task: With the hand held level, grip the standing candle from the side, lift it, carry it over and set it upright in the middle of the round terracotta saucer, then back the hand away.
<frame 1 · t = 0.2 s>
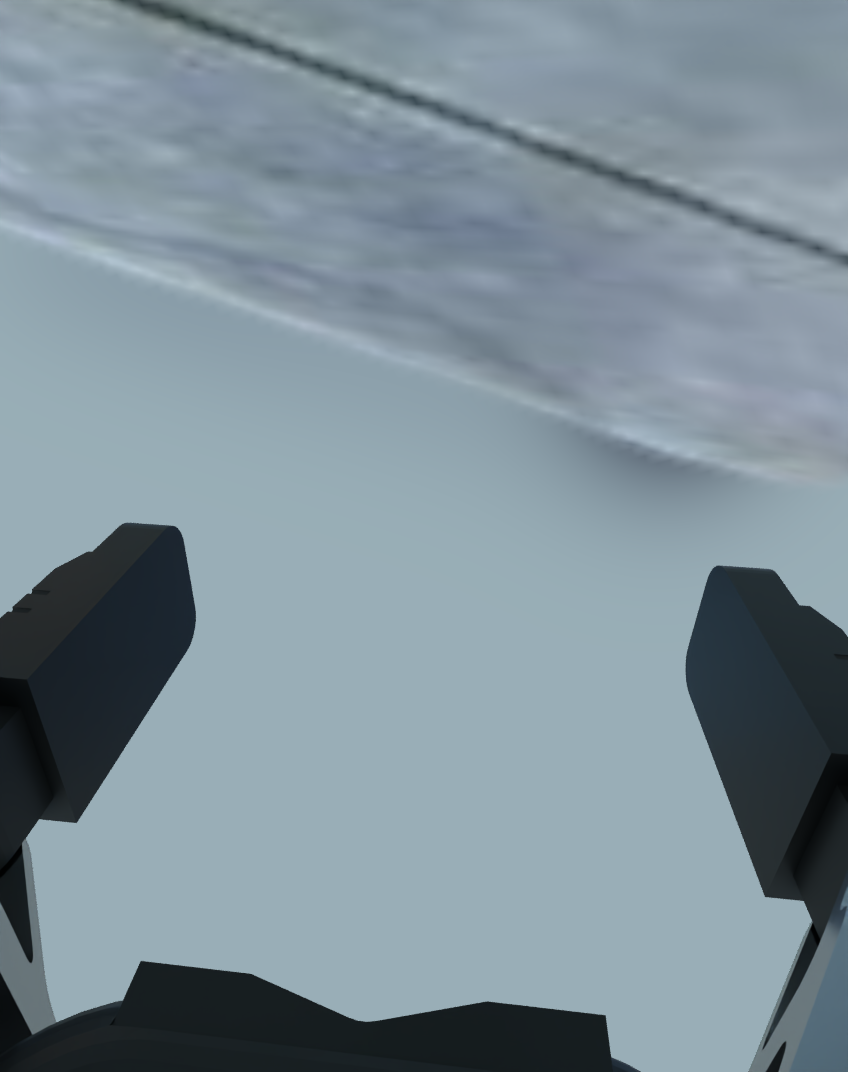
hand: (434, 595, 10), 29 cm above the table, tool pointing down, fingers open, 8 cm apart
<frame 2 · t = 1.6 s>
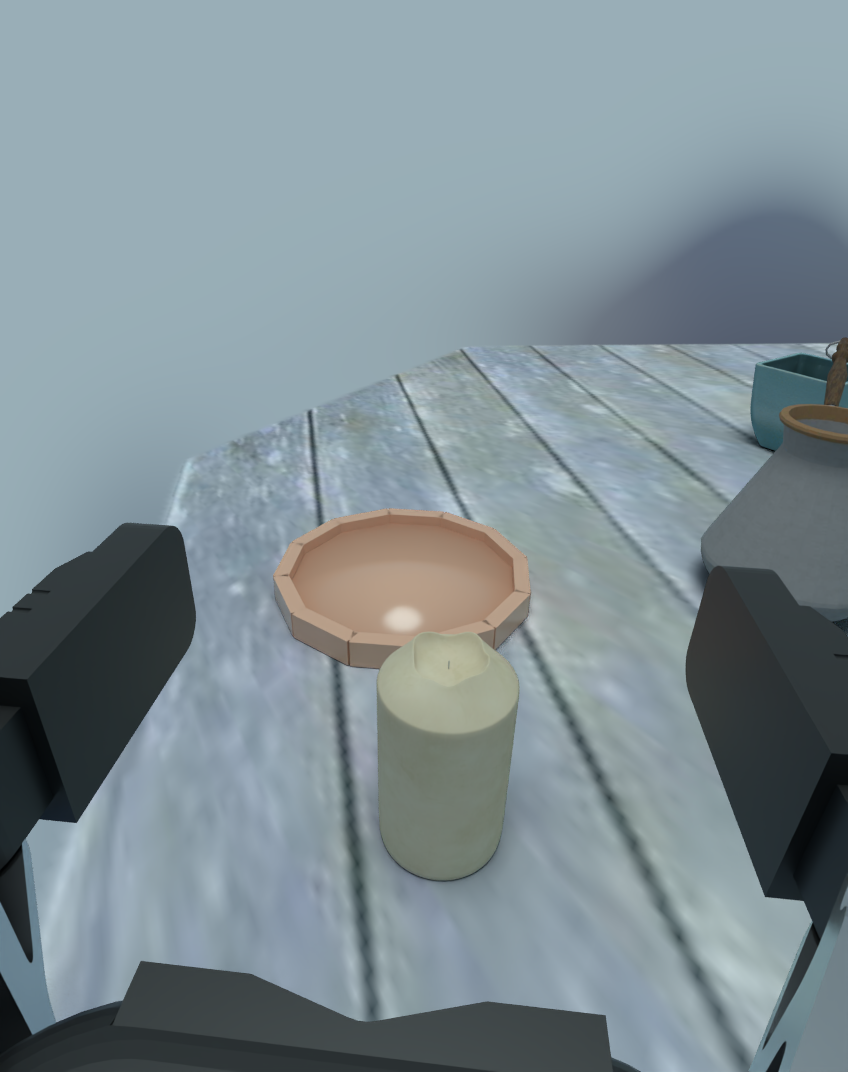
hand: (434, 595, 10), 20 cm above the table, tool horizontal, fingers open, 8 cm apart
candle: (440, 827, 30), on the table
coffee pot: (781, 564, 50), on the table
flower pot: (792, 451, 71), on the table
saucer: (403, 588, 46), on the table
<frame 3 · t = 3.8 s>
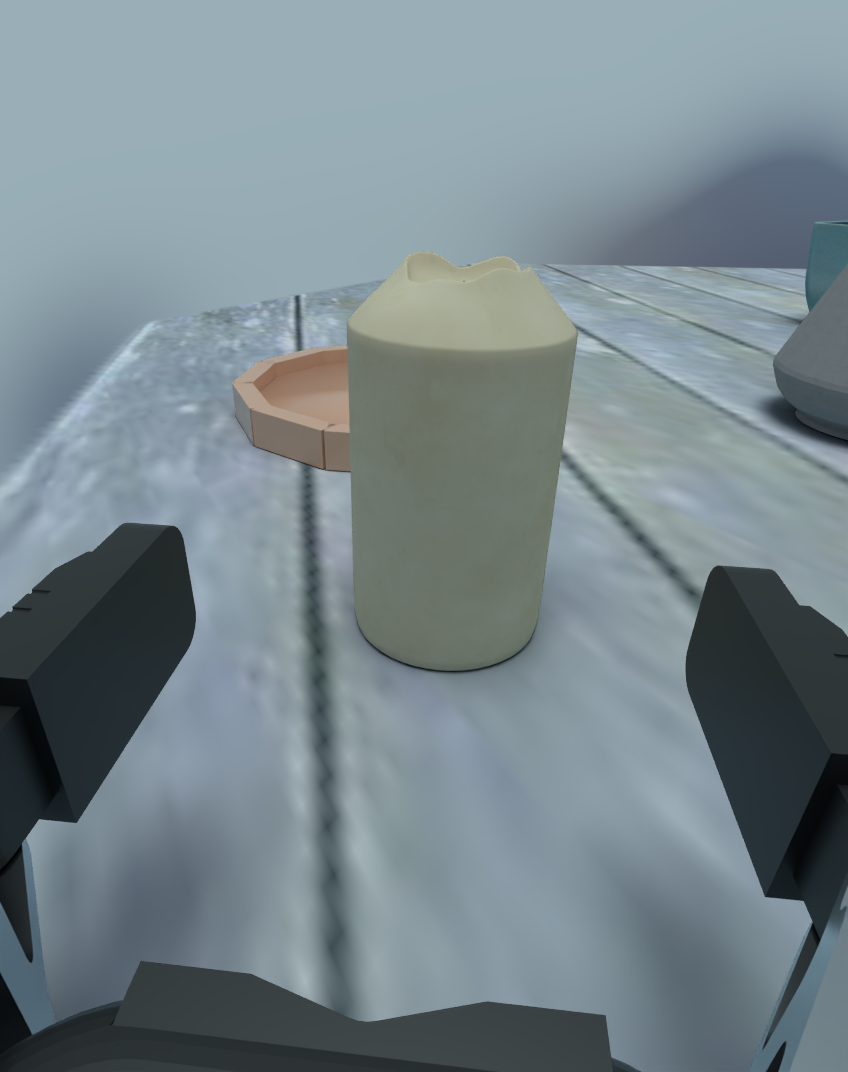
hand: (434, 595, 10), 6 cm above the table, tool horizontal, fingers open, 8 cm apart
candle: (445, 619, 20), on the table
saucer: (399, 412, 36), on the table
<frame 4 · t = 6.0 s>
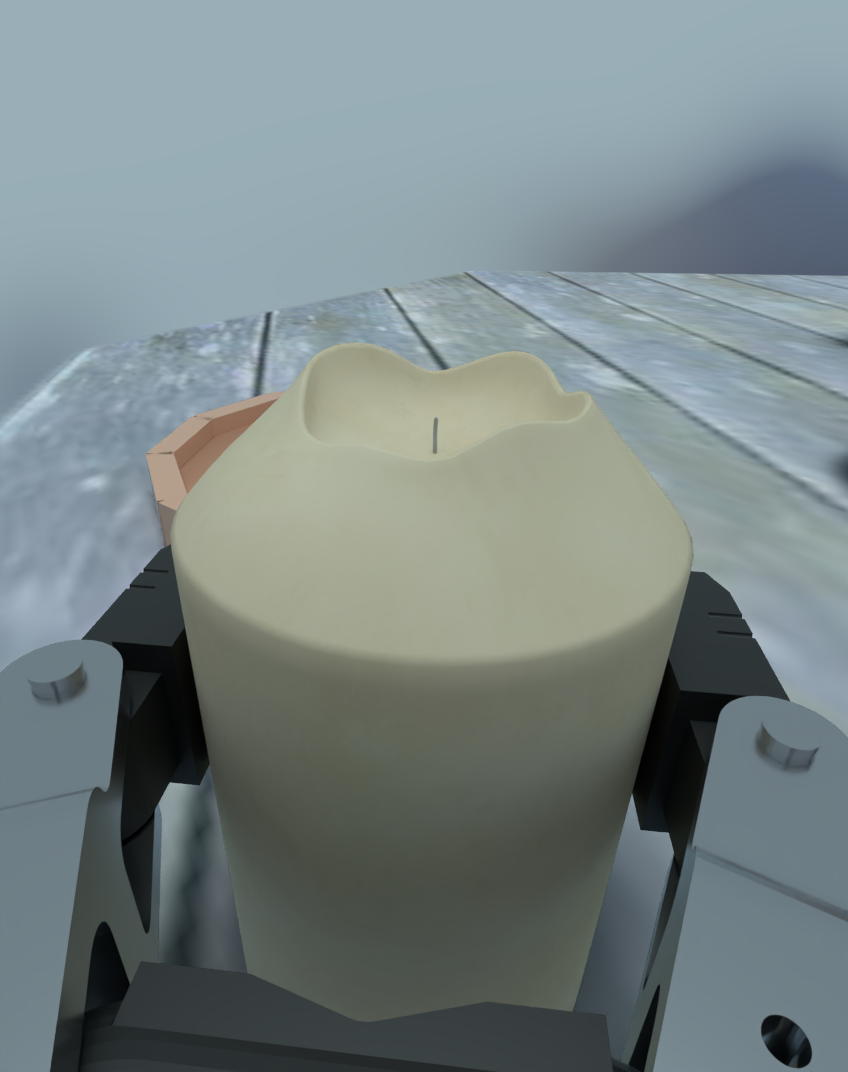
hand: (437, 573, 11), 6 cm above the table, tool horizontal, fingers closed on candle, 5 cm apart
candle: (414, 950, 12), on the table, touching gripper
saucer: (371, 485, 28), on the table
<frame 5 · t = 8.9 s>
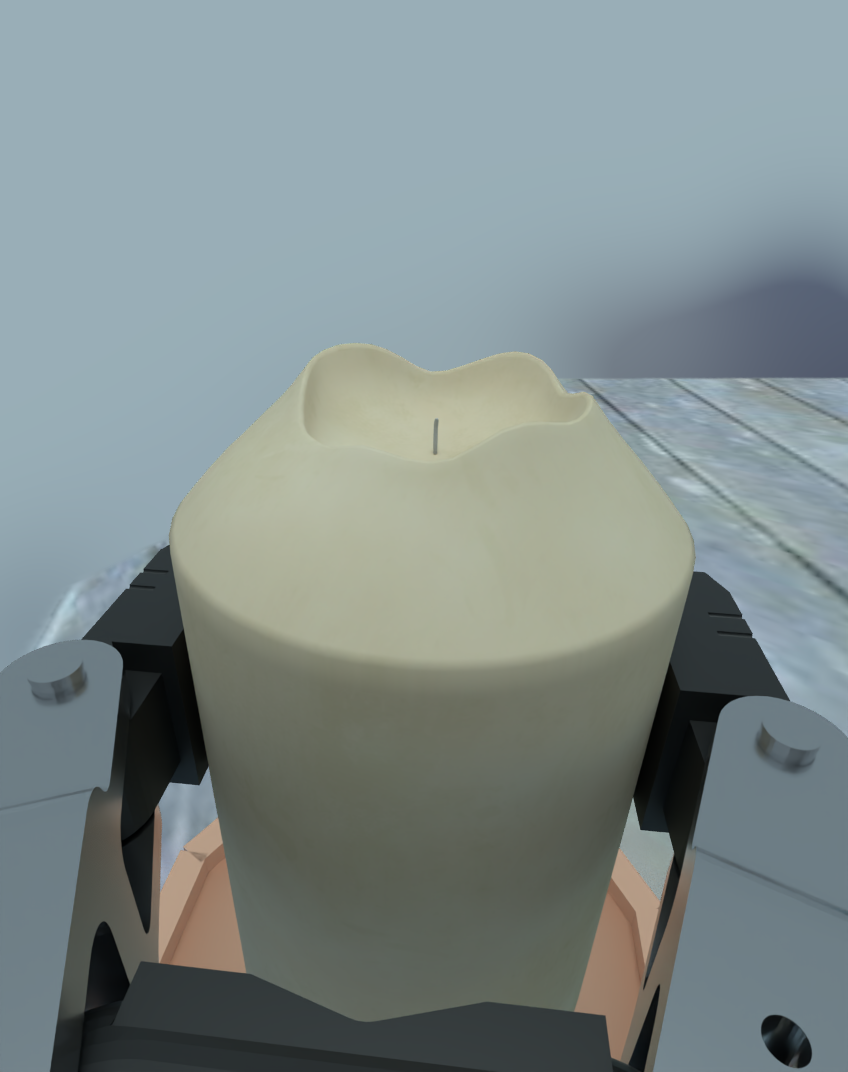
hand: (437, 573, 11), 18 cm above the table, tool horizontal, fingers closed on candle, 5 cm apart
candle: (414, 952, 12), point 12 cm above the table, touching gripper
saucer: (406, 974, 22), on the table
when the fingers open (8 cm above the table, at t = 11.7 s): candle stays where it is, resting on saucer.
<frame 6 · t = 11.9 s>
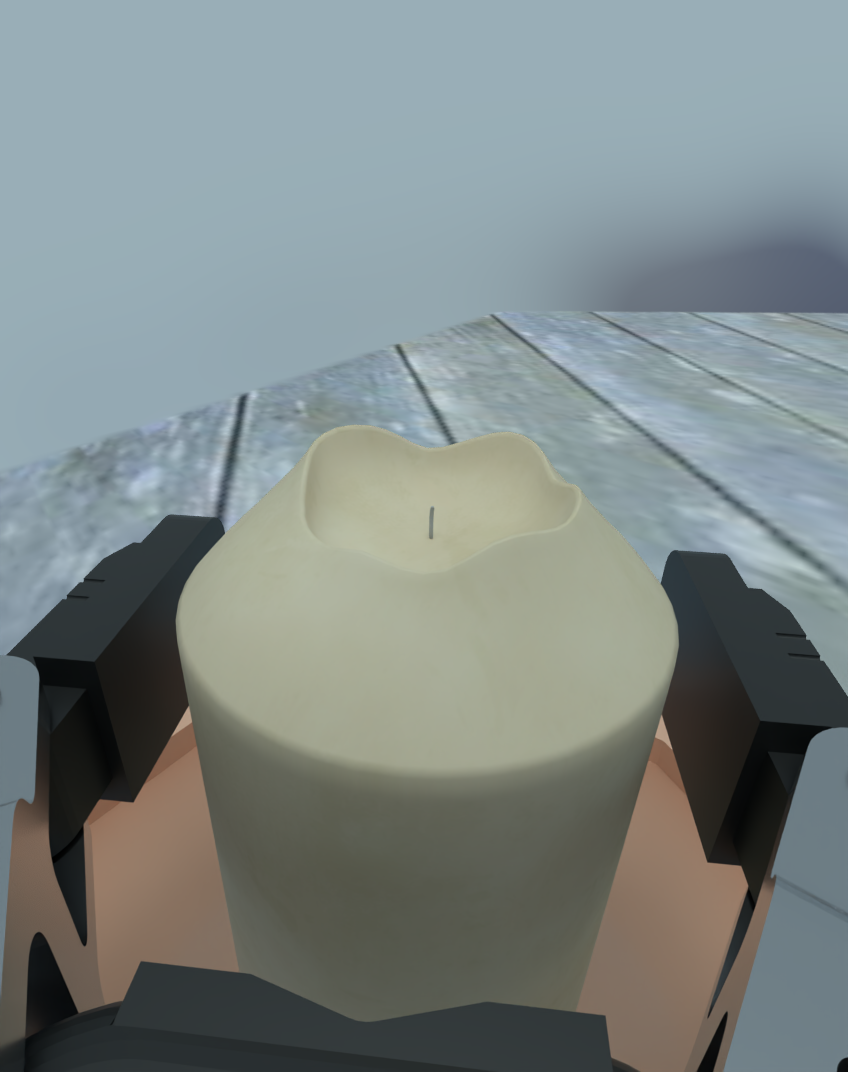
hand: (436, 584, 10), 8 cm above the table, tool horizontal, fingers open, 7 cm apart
candle: (409, 987, 12), point 1 cm above the table, touching saucer
saucer: (411, 1003, 12), on the table
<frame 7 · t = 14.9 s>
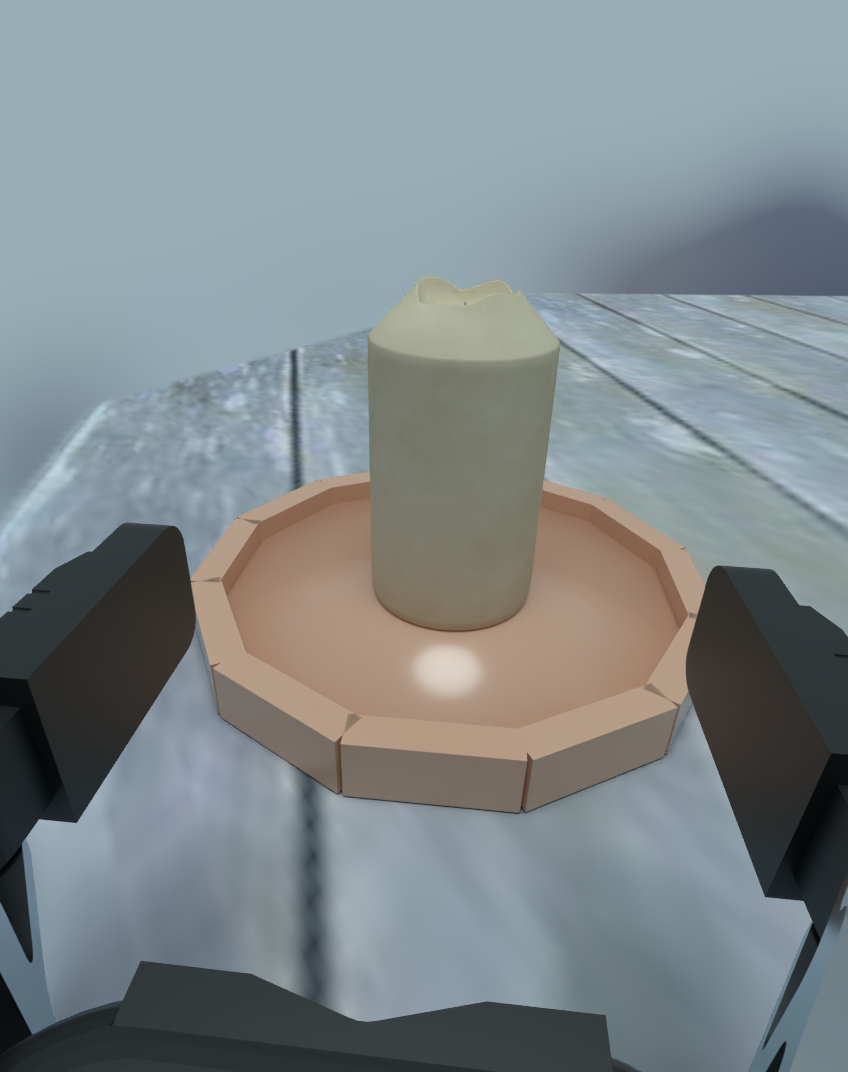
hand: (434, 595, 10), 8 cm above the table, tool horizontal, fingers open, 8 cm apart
candle: (450, 590, 23), point 1 cm above the table, touching saucer
saucer: (450, 606, 24), on the table
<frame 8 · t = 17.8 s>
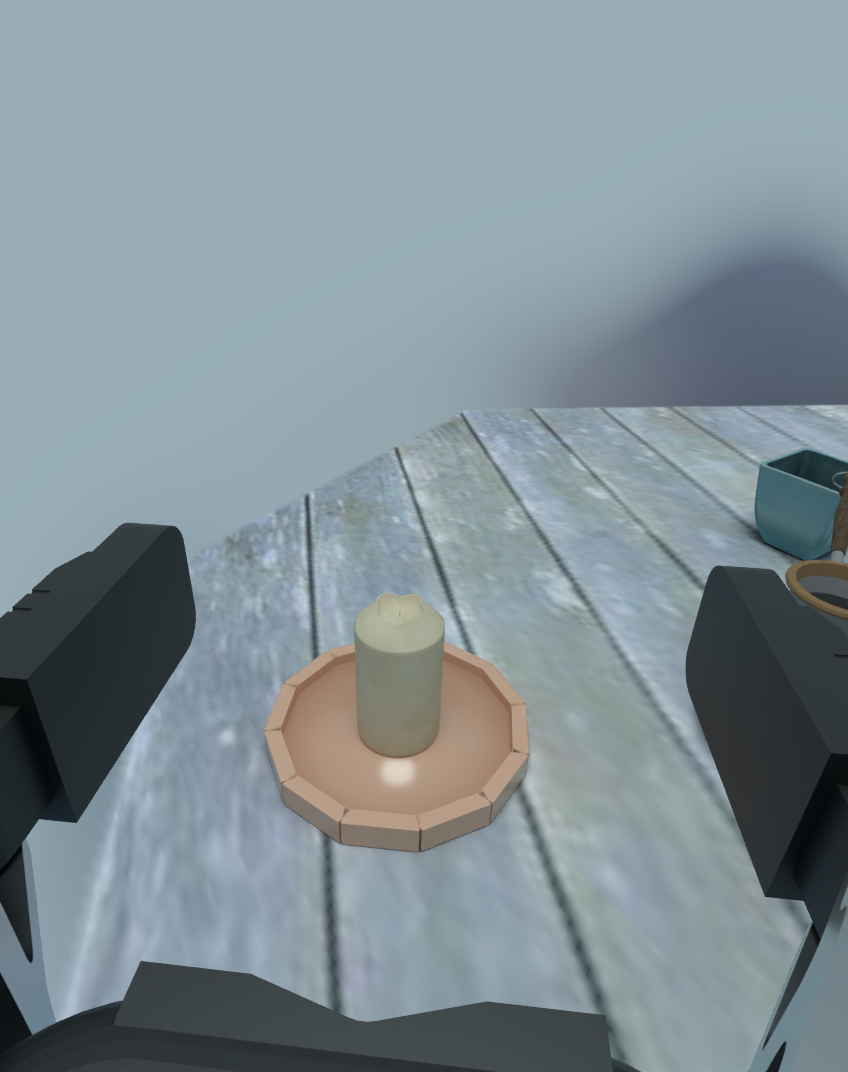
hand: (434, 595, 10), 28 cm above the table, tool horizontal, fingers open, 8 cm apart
candle: (398, 729, 44), point 1 cm above the table, touching saucer
coffee pot: (786, 701, 49), on the table
flower pot: (796, 549, 70), on the table
saucer: (398, 736, 45), on the table
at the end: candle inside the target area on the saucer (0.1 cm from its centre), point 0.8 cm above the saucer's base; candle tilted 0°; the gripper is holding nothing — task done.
